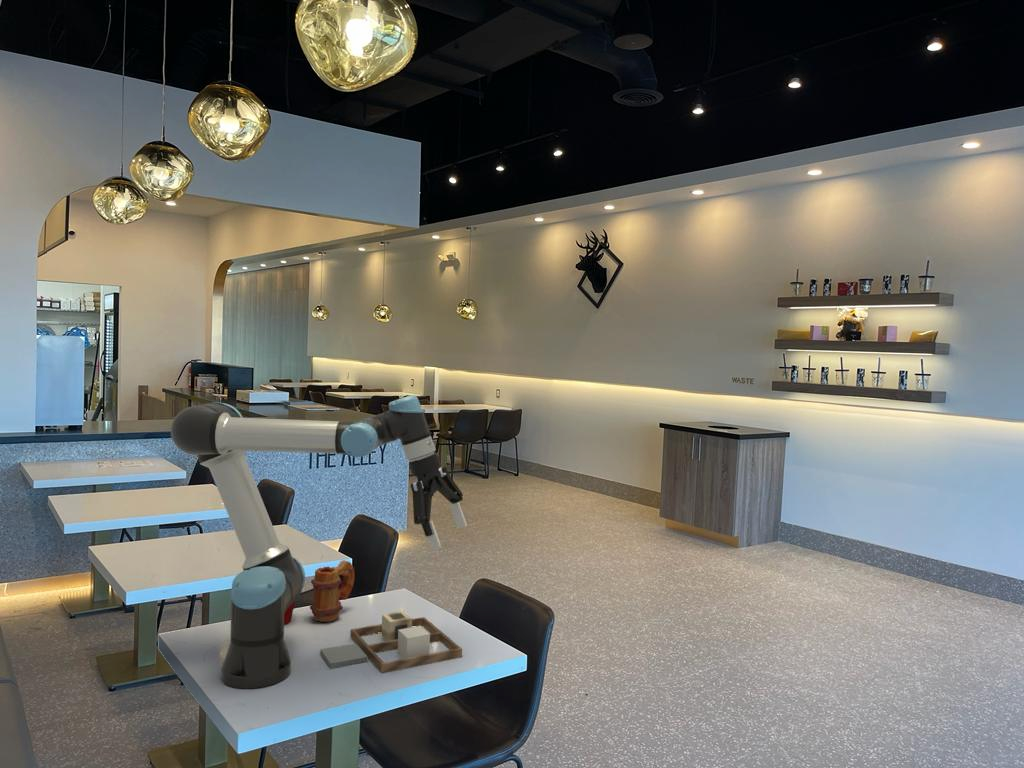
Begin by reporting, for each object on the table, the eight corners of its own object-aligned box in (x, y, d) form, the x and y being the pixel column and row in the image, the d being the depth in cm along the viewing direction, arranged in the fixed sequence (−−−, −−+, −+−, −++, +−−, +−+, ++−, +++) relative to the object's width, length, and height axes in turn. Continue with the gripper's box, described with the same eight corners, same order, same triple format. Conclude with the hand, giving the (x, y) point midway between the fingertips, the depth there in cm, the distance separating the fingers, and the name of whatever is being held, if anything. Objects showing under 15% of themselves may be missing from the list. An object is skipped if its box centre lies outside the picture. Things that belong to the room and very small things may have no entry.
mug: (323, 627, 194) (324, 573, 193) (302, 620, 198) (304, 567, 198) (361, 612, 206) (363, 561, 206) (341, 606, 211) (343, 556, 210)
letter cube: (389, 645, 184) (390, 621, 184) (381, 636, 190) (382, 614, 189) (411, 641, 187) (412, 618, 187) (402, 632, 193) (403, 610, 192)
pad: (330, 668, 169) (330, 663, 169) (320, 654, 177) (320, 649, 177) (367, 661, 174) (367, 656, 174) (355, 647, 182) (355, 643, 181)
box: (381, 673, 168) (382, 664, 168) (350, 636, 188) (350, 629, 188) (461, 656, 178) (462, 648, 178) (423, 624, 199) (424, 617, 199)
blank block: (406, 662, 174) (407, 638, 174) (397, 653, 180) (398, 629, 179) (429, 657, 177) (429, 634, 177) (419, 648, 183) (420, 625, 182)
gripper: (407, 467, 164) (436, 553, 165) (458, 440, 187) (484, 516, 188) (381, 474, 168) (410, 559, 169) (435, 447, 190) (460, 522, 191)
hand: (449, 537), depth 178 cm, fingers open, 13 cm apart
